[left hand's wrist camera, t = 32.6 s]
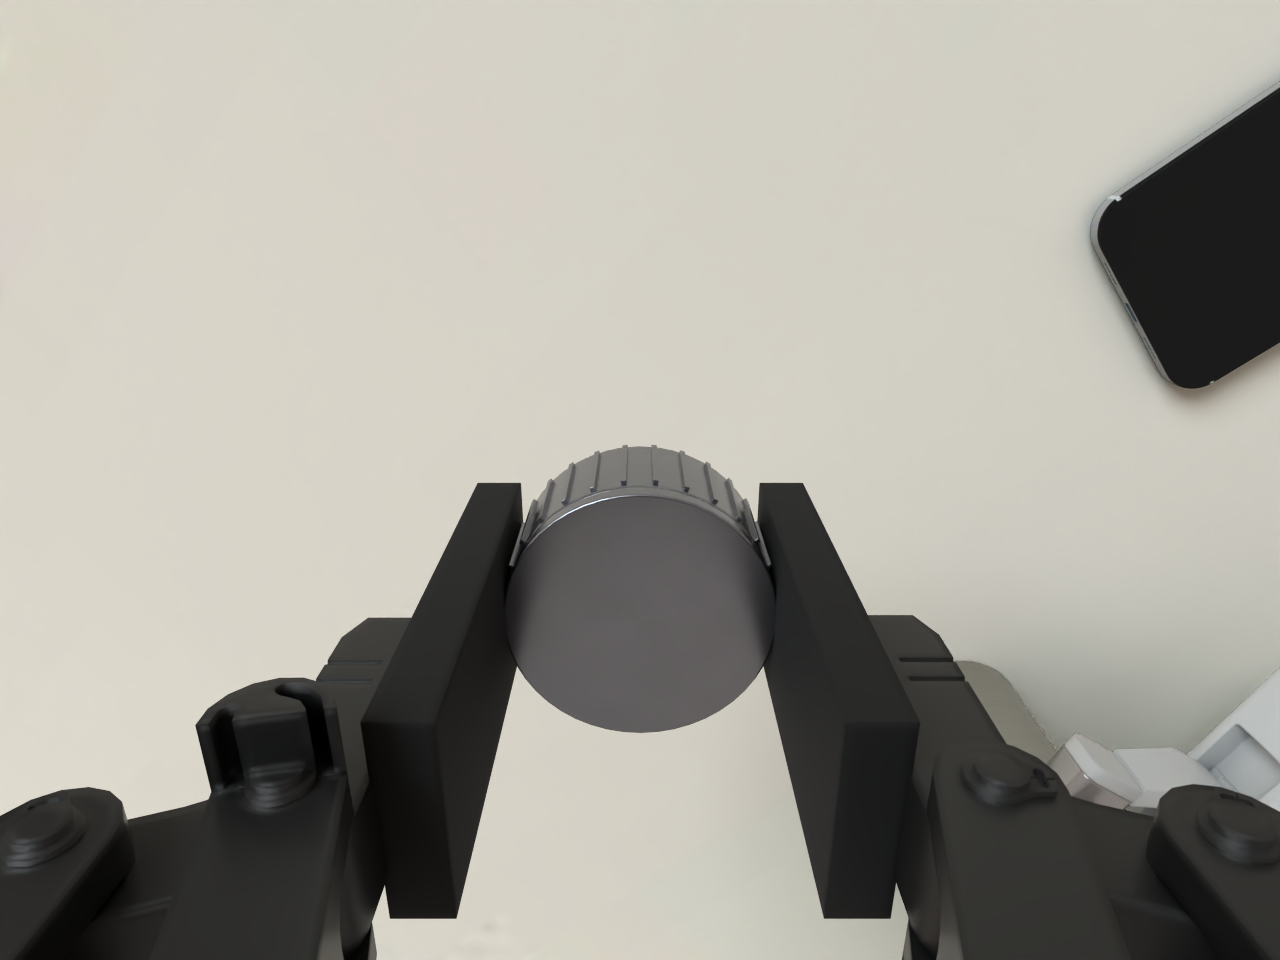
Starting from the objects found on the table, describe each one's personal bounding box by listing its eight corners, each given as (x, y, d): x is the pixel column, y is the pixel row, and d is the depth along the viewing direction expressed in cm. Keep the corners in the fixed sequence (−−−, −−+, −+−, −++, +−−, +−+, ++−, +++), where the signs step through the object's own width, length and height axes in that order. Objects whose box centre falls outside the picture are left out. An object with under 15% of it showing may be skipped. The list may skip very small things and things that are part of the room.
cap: (525, 660, 16) (508, 736, 14) (511, 442, 14) (489, 491, 12) (755, 659, 16) (773, 735, 14) (767, 441, 14) (789, 490, 12)
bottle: (969, 638, 32) (1349, 1215, 14) (1039, 713, 33) (1464, 1325, 16) (868, 709, 33) (1109, 1316, 16) (939, 779, 34) (1234, 1411, 17)
